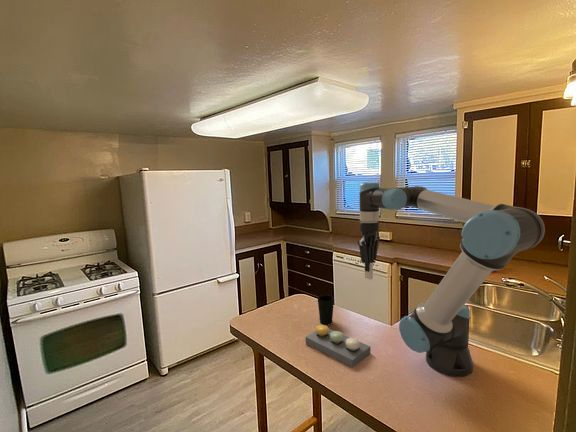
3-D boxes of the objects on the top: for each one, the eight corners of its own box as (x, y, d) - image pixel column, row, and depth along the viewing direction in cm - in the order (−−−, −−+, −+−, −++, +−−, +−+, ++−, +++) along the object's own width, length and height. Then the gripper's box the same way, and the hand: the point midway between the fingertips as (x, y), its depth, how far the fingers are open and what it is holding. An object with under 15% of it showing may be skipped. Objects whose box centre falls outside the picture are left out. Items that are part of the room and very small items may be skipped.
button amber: (331, 337, 128) (331, 327, 127) (323, 342, 125) (323, 332, 124) (321, 333, 132) (321, 323, 131) (313, 337, 128) (313, 328, 128)
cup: (323, 317, 150) (323, 293, 148) (337, 321, 145) (337, 297, 144) (314, 323, 144) (314, 298, 143) (328, 327, 139) (328, 302, 138)
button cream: (362, 351, 117) (362, 341, 117) (354, 357, 114) (354, 346, 113) (351, 346, 121) (351, 336, 120) (343, 352, 117) (343, 341, 117)
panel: (370, 353, 119) (370, 346, 118) (352, 367, 111) (352, 360, 110) (324, 332, 135) (324, 326, 135) (305, 343, 127) (305, 336, 127)
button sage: (346, 344, 123) (346, 334, 122) (338, 349, 119) (338, 339, 119) (335, 339, 126) (335, 329, 126) (327, 344, 123) (327, 334, 122)
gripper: (369, 218, 130) (369, 272, 133) (351, 222, 121) (351, 280, 124) (386, 220, 125) (385, 276, 128) (368, 224, 116) (368, 284, 119)
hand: (368, 278), depth 126 cm, fingers closed
